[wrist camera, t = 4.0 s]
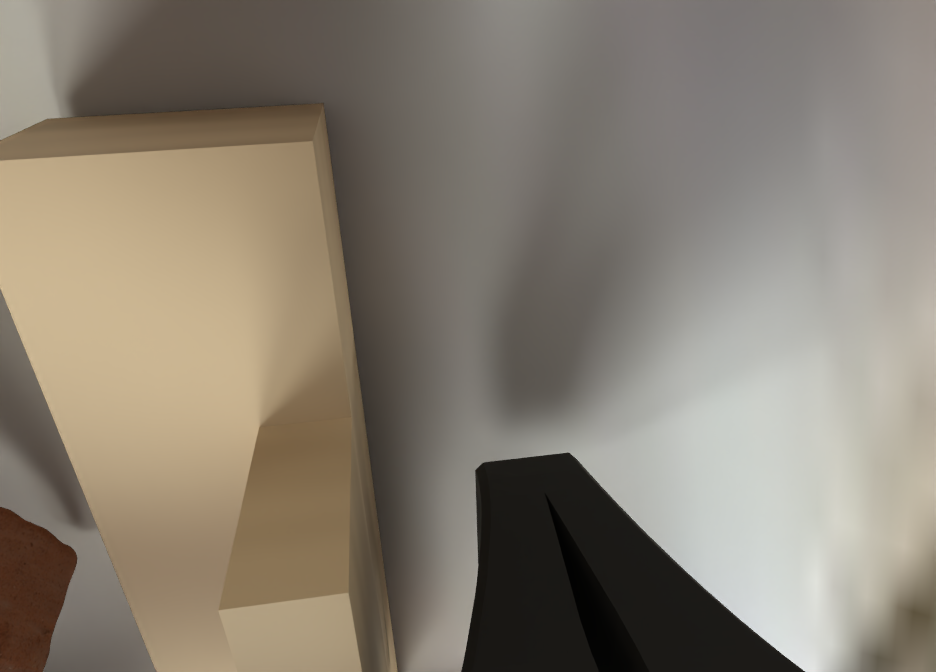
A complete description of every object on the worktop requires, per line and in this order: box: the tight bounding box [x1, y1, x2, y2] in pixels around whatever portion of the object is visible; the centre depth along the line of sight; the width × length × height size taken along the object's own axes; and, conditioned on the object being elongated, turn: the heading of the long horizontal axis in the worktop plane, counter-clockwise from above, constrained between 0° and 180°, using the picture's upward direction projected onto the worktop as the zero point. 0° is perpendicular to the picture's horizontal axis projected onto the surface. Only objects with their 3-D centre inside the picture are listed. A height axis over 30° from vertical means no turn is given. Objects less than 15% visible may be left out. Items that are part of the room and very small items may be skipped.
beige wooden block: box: [0, 103, 398, 672], centre depth 8 cm, size 11×3×4 cm, turn 2°
